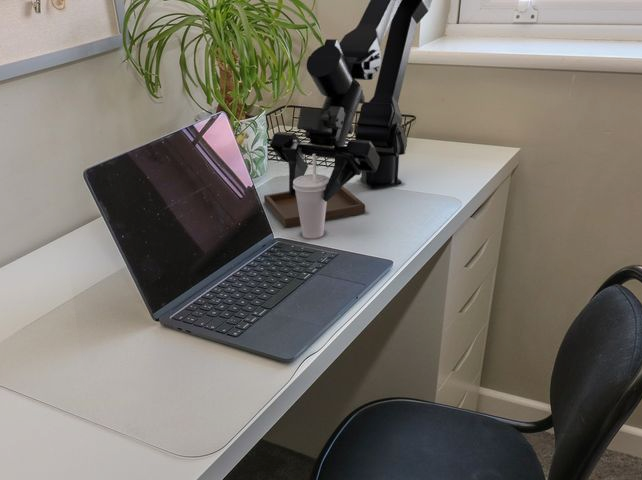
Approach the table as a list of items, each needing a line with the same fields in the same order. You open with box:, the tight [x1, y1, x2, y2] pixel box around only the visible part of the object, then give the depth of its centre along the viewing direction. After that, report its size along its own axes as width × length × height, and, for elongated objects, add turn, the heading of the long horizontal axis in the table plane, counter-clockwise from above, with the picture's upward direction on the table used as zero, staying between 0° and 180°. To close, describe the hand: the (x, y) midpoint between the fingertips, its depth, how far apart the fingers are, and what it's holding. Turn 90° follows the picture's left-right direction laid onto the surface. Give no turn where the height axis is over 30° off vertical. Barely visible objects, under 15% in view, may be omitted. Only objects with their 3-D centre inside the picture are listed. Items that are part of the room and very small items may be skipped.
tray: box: [263, 185, 366, 229], centre depth 132 cm, size 16×14×2 cm
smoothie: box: [293, 154, 330, 240], centre depth 118 cm, size 6×6×14 cm
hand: (307, 197), depth 117 cm, fingers closed on smoothie, 6 cm apart
